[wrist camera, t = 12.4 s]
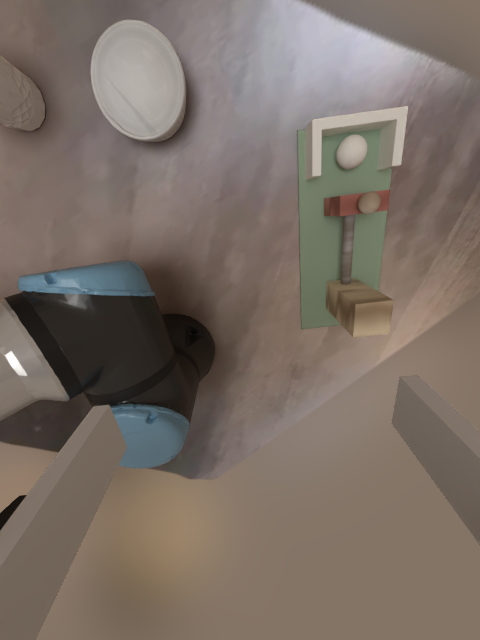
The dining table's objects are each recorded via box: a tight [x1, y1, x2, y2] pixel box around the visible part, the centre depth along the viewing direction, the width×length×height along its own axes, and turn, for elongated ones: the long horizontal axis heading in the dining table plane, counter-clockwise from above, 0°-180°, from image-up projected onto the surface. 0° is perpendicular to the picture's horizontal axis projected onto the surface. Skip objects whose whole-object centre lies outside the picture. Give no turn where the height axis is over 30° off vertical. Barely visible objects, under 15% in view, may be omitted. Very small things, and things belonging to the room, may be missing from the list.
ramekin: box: [91, 20, 186, 142], centre depth 32 cm, size 11×11×5 cm
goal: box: [305, 106, 408, 180], centre depth 34 cm, size 6×12×4 cm, turn 97°
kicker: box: [324, 190, 394, 337], centre depth 37 cm, size 18×6×12 cm, turn 7°
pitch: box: [297, 129, 392, 329], centre depth 41 cm, size 32×14×1 cm, turn 7°
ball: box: [336, 135, 367, 169], centre depth 35 cm, size 4×4×4 cm
